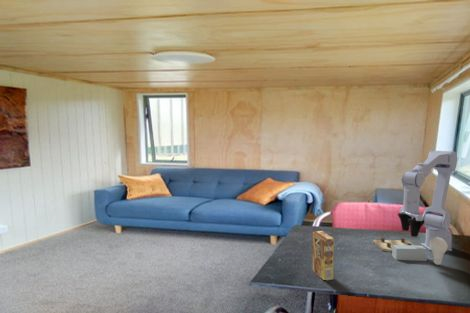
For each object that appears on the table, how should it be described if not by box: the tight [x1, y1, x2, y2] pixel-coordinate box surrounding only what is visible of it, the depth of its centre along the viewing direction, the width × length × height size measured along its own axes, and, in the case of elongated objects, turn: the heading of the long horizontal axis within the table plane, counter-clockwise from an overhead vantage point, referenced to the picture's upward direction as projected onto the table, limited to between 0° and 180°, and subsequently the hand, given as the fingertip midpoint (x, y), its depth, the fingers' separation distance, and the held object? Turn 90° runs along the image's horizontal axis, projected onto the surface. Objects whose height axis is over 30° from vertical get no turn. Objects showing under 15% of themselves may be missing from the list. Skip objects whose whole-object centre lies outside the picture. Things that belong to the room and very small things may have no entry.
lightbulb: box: [429, 237, 448, 266], centre depth 123 cm, size 6×6×11 cm
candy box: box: [312, 230, 335, 281], centre depth 115 cm, size 9×4×15 cm, turn 13°
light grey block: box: [391, 245, 428, 262], centre depth 130 cm, size 12×4×5 cm, turn 84°
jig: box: [372, 237, 416, 253], centre depth 143 cm, size 16×12×3 cm
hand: (409, 233), depth 129 cm, fingers open, 7 cm apart
